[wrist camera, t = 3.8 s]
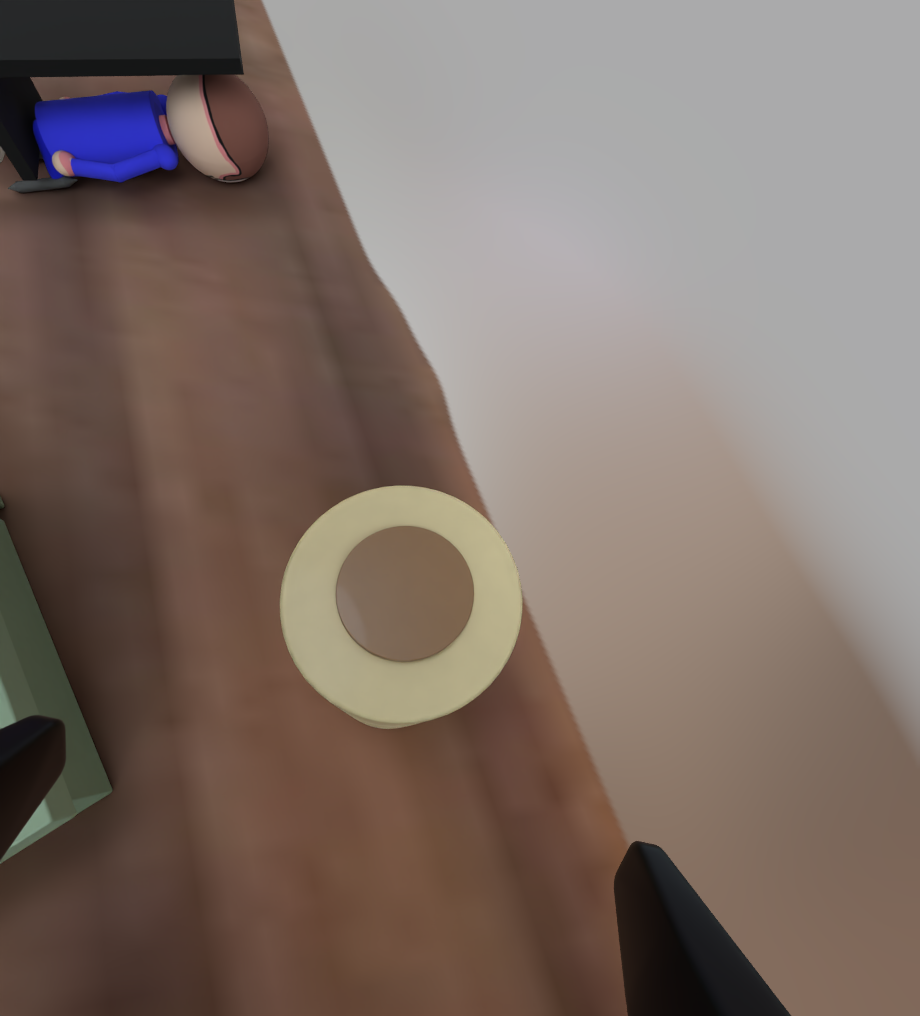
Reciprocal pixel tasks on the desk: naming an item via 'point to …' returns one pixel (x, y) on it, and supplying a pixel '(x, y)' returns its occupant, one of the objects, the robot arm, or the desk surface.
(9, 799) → the robot arm
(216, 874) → the desk surface
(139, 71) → the figurine character
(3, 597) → the shelf
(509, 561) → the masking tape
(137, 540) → the desk surface
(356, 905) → the desk surface
